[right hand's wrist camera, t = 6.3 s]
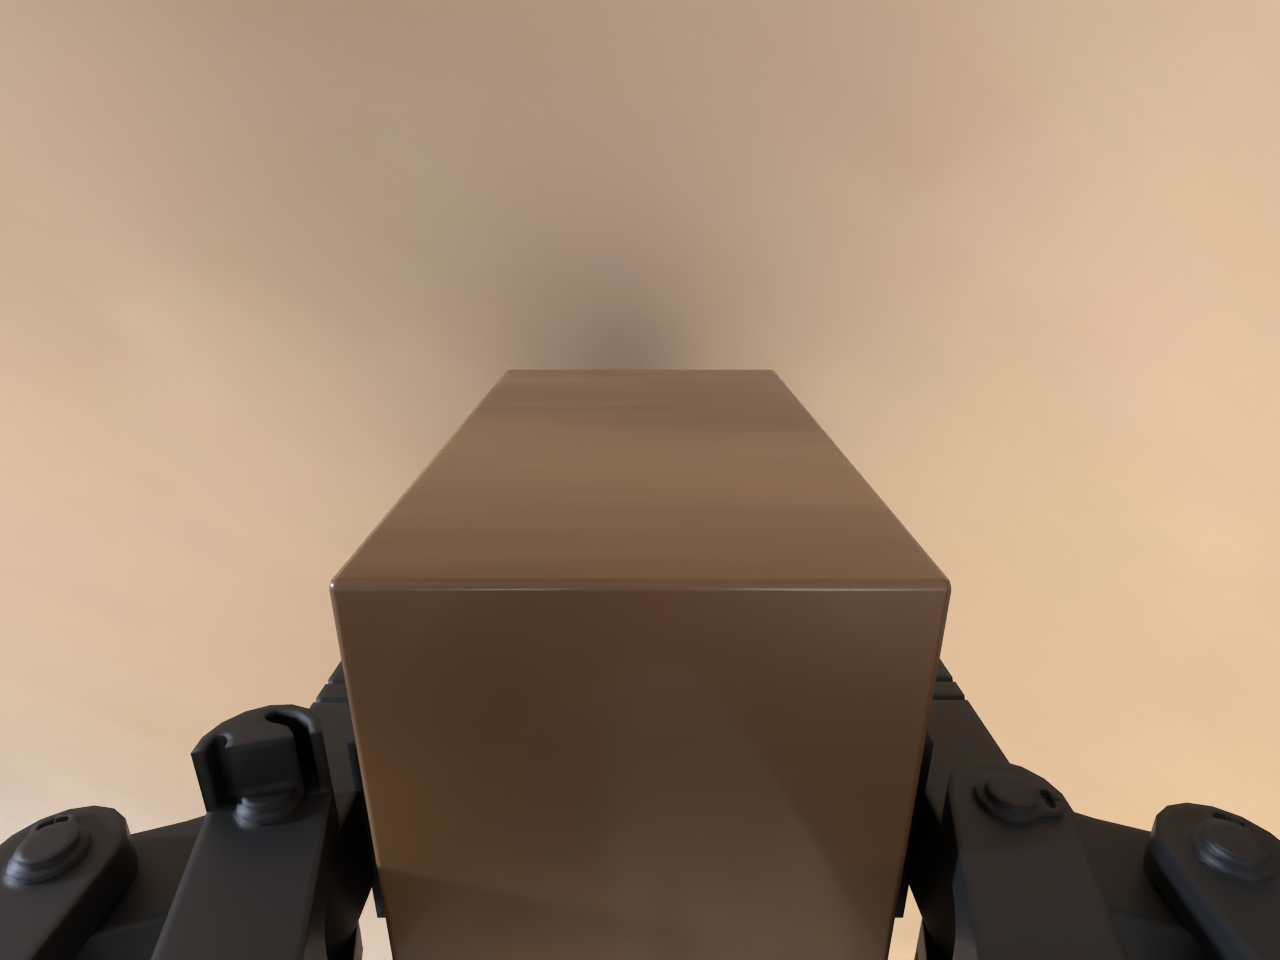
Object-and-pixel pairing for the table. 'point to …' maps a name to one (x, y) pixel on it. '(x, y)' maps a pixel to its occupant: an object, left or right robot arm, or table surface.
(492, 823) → the bar
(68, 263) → the table surface
